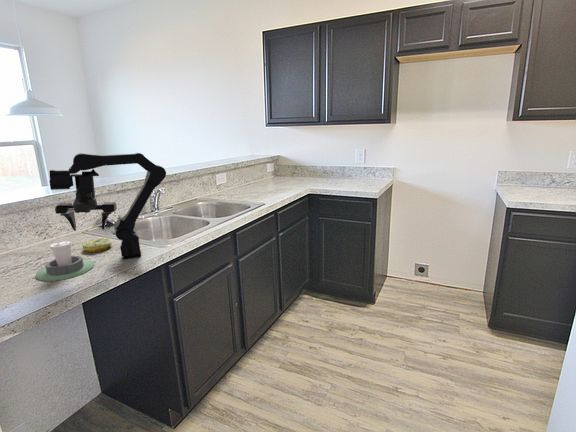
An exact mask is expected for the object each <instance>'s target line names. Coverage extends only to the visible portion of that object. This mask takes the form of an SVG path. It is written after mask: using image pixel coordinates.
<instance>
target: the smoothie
mask: <svg viewBox="0 0 576 432" xmlns="http://www.w3.org/2000/svg"><path fill="white" fill-rule="evenodd" d="M55 236H56V241H57V242H55V243H54V242H53V243H51V244H50V245H49V248H50V250H52V254H53V256H54V259H56V261H57V264H58V266H65V265H68V264H72V259H71V256H72V246H73V244H72V241H69V240H68V241H67V240H63V241H60V238H59V233H58V232H55Z"/></svg>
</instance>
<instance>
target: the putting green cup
mask: <svg viewBox="0 0 576 432" xmlns="http://www.w3.org/2000/svg"><path fill="white" fill-rule="evenodd" d="M71 259H72V264H68V265H65V266H58V264H57V261H56V259H55V258H54V259H52V260H50V261H47V262H46V263H45V267H43V268H41V269H40V270H39V271H37V272H36V274H35V279H36V280H37V281H42V282H54V281H62V280H68V279H71V278H74V277H75V278H76V277H78V276H81V275H83V274H85V273H87V272H90V271H91V270H92V269H93V268H94V266H95V262H94V261H92V260H90V259H84V258H83V257H82V256H80V255H71Z"/></svg>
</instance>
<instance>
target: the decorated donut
mask: <svg viewBox="0 0 576 432" xmlns="http://www.w3.org/2000/svg"><path fill="white" fill-rule="evenodd" d="M112 245H113V242H112V240H111V239H110V238H105V237H100V238H99V237H98V238H94V239H90V240H87V241H85V242H84V243H82V249H83V251H85V252H87V253H97V252H102V251H106V250H108V248H110V247H111V246H112Z"/></svg>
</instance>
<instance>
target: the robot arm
mask: <svg viewBox="0 0 576 432" xmlns="http://www.w3.org/2000/svg"><path fill="white" fill-rule="evenodd" d="M72 163H73V164H71V166H70V167H68V170H67V169H66V170H56V169H50V170H49V180H48V181H49V187H50V190H51V191H58V190H59V191H60V190H71V188H72V187H74V182H75V190H76V191H75V199H74V200H73V203H72V202H61V203H59V204H57V205H56V206H55V207H54V211H55V214H58V215H60V216H61V217H62V216H63V217H65V219H67V221H68V223H69V224H70V226H71V228H72V230H73V231H74V232H76V231H77V223H76V216H75V214H79V213H90V212H91V211H99V210H100V211H102V212H101V229H102V231H104V230H105V228H106V224H107V221H108V218H109V216H110V215H111V214H112V213H115V212H116V210H117V209H118V208H117V203H116V202H115V201H106V202H103V203H102V204H98V201H97V198H96V190H95V181H94V177H100V174H99V173H98V172H97V171H95V169H97V168H100V167H103V166H104V167H105V166H117V165H135V164H137V165H139V166H140V167H141V168H142V169H144V170H145V171H147V172H146V175H145V178H144V183H143V185H142V186H141V188H140V190H139V192H138V193H137V195H136V196H135V199H134V200H133V201H132V204H131V206H130V207H129V209H128V210H127V212H126V214H125V215H124V216H123V217H121V216H119V215H118V217H117V220H116V222H115V223H114V224H113V227H114V228H113V230H114V231H113V232H114V235H115V237H116V238H117V239H118V240H120V241H121V243H120V253H121V257H122V259H123V260H127V259H128V260H129V259H134V258H139V257H140V258H141V257H142V250H141V244H140V237H139V235H138V234H137V232H136V231H135V227H136V223H137V219H138V217H139V216H140V214H141V212H142V211H143V209H144V207H145V205H146V204H147V202H148V200H149V198H150V197H151V195H152V194H153V192H154V190H155V189H156V188H157V187H158V186H159V185H161V183H162V182H163V181H164V180H165V178H166V176H167V172H166V169H165V168H164V167H163V166H162V165H161V166H160V165H158V164H155V163H154V162H152V161H151V160H149V159H148V158H147V157H146V156H145V155H144V154H143V153H141V152H135V153H121V154H119V153H118V154H94V153H83V152H79V153H77V154H75V155H74V157H73V159H72ZM89 170H90V171H89ZM79 172H81V173H79ZM77 173H78V174H77ZM73 178H74V180H73Z"/></svg>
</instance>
